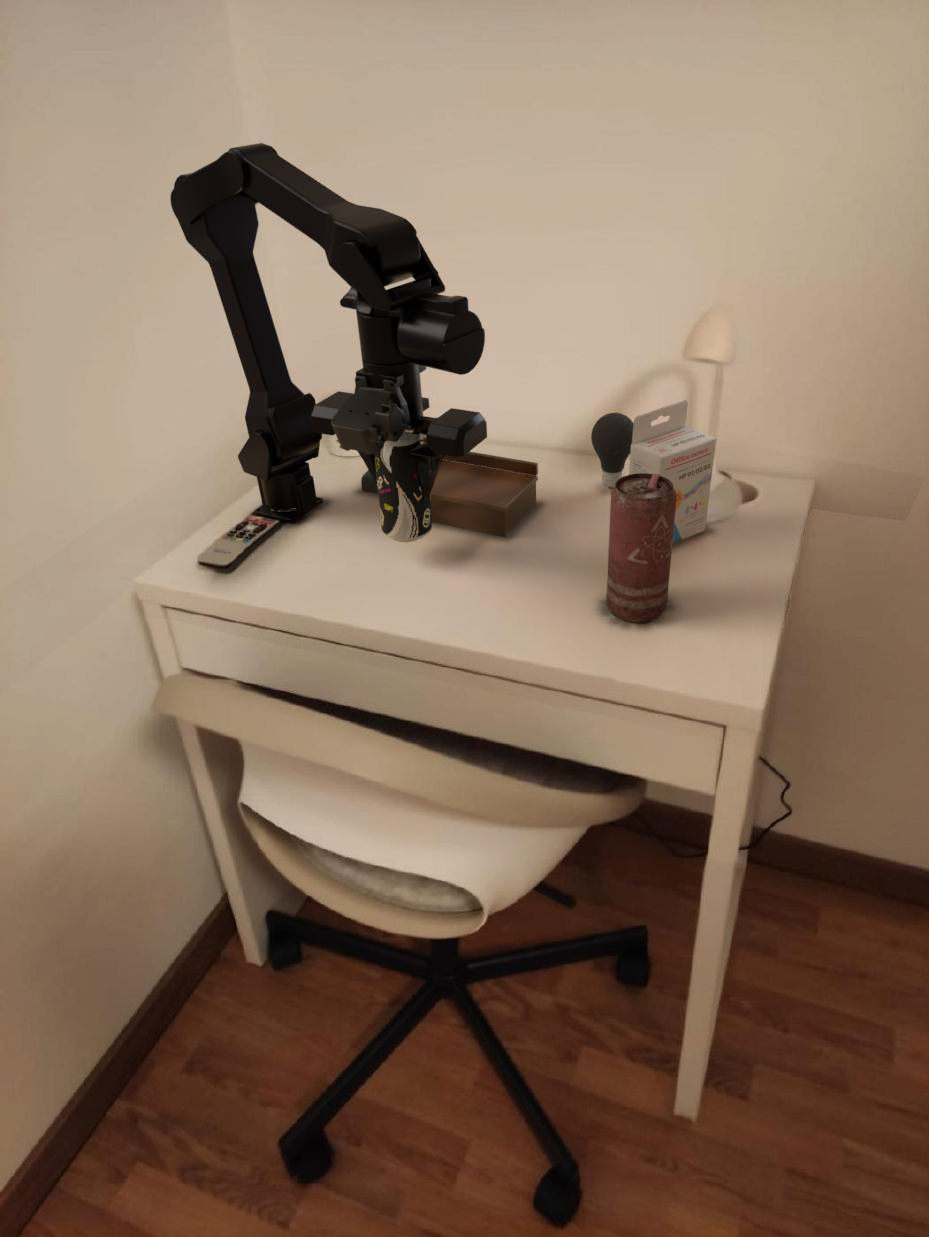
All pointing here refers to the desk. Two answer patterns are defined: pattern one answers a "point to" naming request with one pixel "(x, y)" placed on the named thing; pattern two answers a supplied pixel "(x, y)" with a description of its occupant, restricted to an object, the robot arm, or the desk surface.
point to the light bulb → (612, 445)
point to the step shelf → (483, 492)
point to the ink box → (676, 463)
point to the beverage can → (401, 491)
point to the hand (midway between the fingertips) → (404, 495)
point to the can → (640, 546)
